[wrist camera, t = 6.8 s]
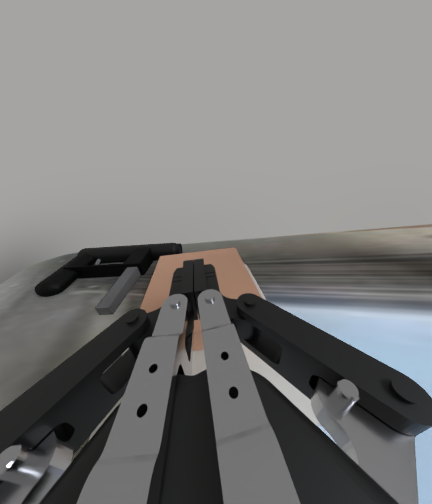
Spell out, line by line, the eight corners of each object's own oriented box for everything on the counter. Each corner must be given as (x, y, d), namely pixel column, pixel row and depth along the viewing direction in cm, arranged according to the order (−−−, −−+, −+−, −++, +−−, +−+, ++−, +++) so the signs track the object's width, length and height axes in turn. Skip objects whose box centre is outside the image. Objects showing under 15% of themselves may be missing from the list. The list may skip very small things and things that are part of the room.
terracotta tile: (270, 339, 14) (235, 260, 26) (274, 320, 13) (235, 247, 25) (136, 361, 13) (163, 269, 26) (125, 344, 12) (160, 256, 24)
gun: (156, 300, 18) (181, 237, 31) (-12, 308, 18) (85, 243, 32) (163, 318, 19) (184, 251, 33) (10, 325, 20) (93, 256, 34)
